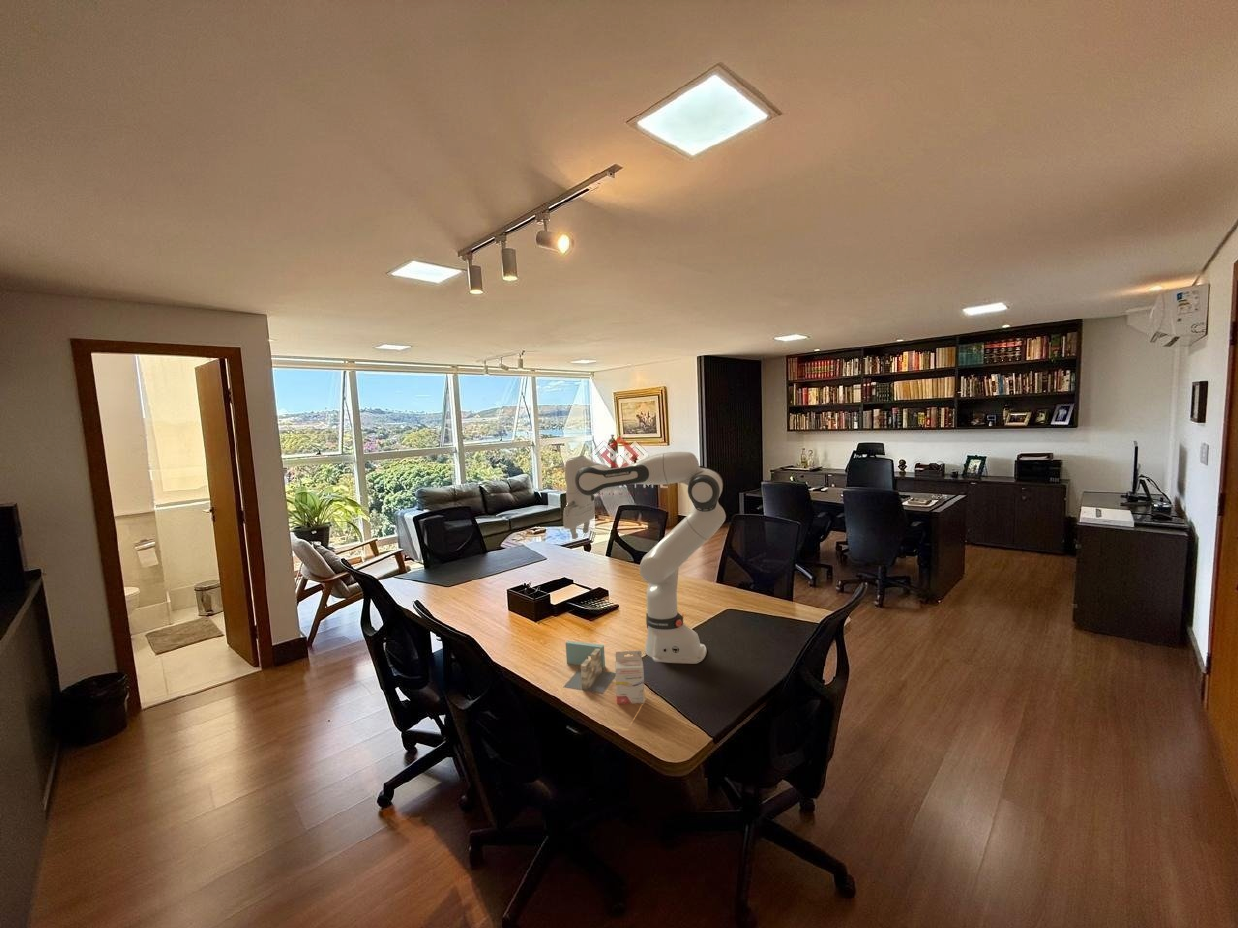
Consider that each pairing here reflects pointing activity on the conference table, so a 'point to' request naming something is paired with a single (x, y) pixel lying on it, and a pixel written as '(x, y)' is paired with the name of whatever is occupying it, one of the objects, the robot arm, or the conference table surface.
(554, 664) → the conference table surface
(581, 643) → the teal plate
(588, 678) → the stone wall model
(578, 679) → the felt mat
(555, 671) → the conference table surface
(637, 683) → the ink cartridge box
